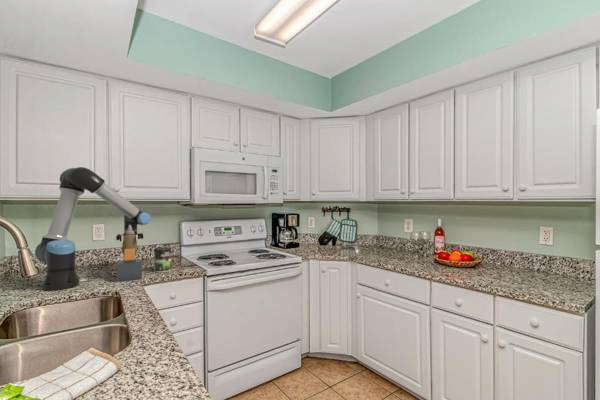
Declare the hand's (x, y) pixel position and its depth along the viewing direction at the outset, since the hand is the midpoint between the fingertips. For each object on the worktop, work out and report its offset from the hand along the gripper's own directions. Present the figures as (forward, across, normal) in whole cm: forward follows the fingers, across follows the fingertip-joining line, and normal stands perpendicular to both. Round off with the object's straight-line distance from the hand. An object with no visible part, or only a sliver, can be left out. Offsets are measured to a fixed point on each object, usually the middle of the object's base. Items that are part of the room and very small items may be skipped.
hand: (129, 238), depth 170 cm
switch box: (-2, 0, -23) cm, 23 cm away
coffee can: (-15, -18, -23) cm, 33 cm away
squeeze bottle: (-5, 0, -11) cm, 12 cm away
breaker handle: (0, 0, -13) cm, 13 cm away
